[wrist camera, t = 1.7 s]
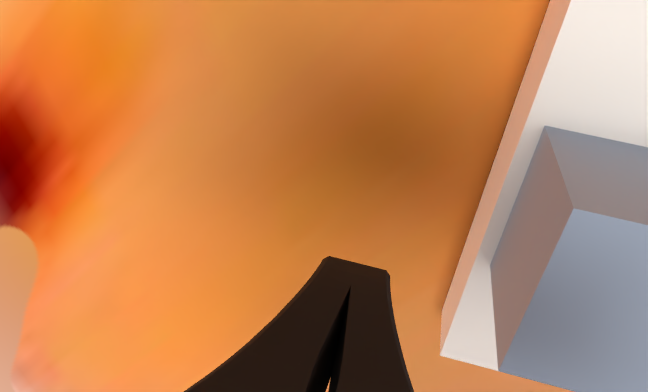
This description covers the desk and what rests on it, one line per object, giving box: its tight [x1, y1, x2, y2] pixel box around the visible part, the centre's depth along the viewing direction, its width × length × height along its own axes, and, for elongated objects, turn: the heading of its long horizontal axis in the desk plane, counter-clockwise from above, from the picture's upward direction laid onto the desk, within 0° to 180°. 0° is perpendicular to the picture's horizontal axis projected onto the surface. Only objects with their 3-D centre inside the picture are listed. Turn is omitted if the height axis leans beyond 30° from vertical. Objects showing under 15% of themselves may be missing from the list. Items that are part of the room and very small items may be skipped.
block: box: [490, 126, 648, 392], centre depth 14 cm, size 5×5×4 cm
